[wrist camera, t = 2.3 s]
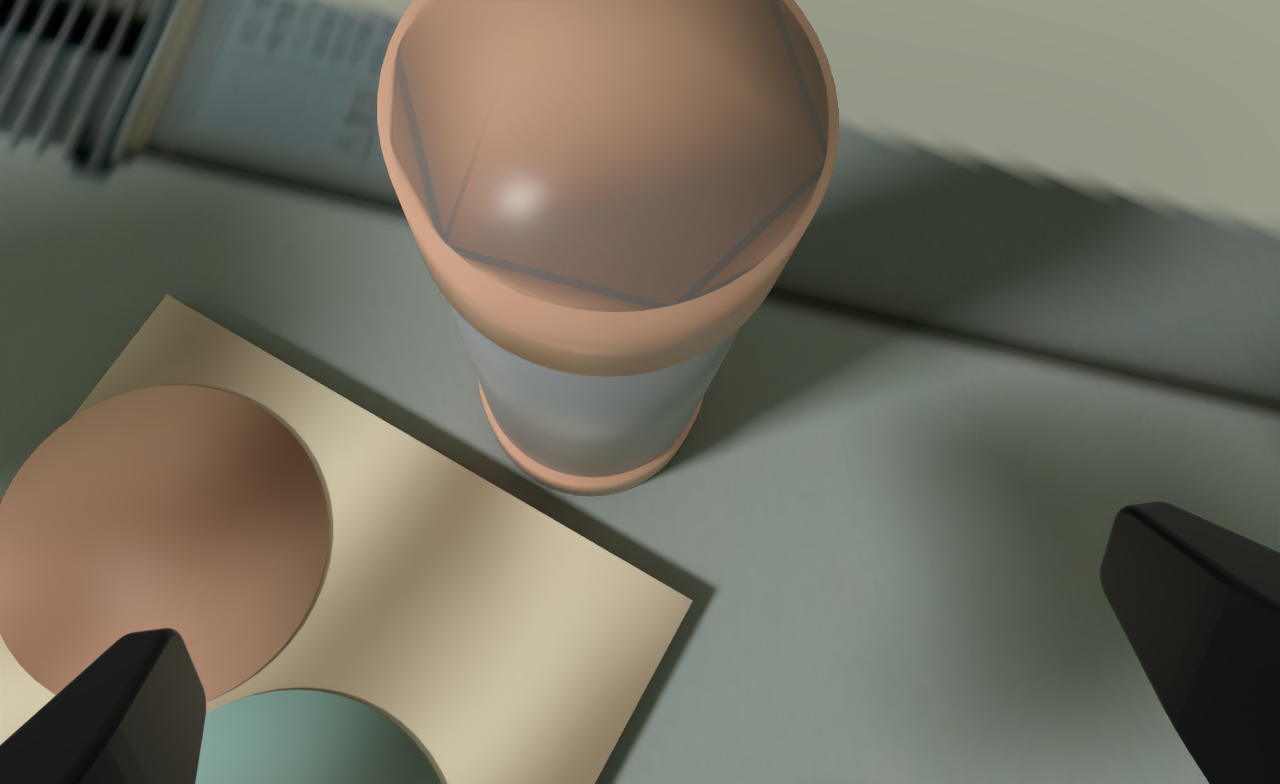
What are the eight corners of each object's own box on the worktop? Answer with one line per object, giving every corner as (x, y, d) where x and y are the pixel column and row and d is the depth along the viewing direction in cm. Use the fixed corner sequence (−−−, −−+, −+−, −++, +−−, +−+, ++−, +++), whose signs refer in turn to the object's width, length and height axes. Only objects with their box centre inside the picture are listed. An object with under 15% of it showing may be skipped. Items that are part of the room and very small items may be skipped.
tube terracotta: (730, 358, 21) (912, 41, 10) (629, 535, 20) (703, 410, 9) (555, 260, 22) (534, -158, 10) (446, 429, 21) (282, 171, 9)
